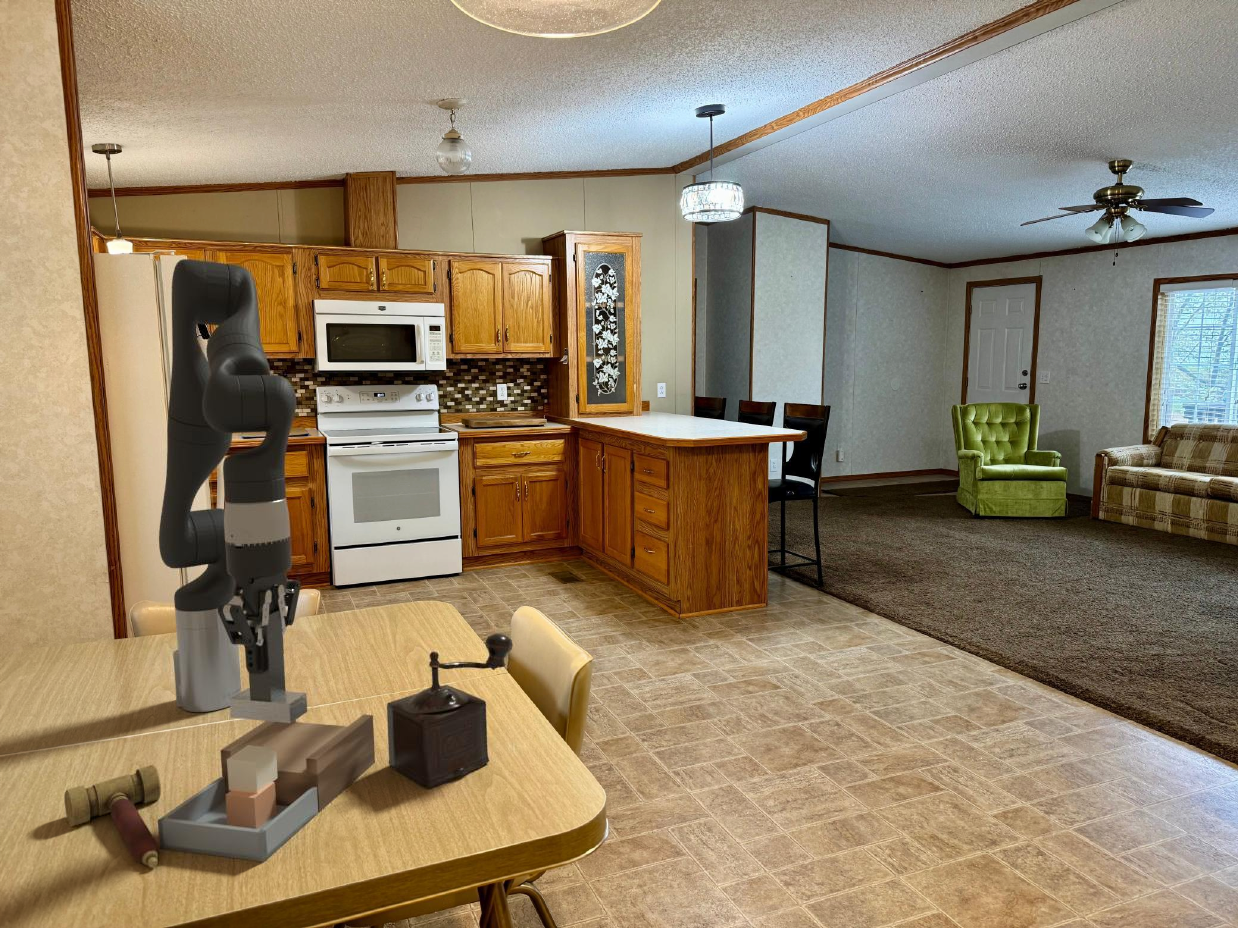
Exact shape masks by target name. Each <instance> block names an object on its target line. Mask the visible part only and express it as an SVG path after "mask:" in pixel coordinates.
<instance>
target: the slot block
mask: <svg viewBox="0 0 1238 928" xmlns="http://www.w3.org/2000/svg"><path fill="white" fill-rule="evenodd" d="M374 730H375V729H374V715H373V714H362V715H360V716H359V717H358V718H357V719H356V720H354V721H353V722H351V723H350V724H349V725H347V726H345V725H336V724H335V725H334V724H325V723H323V724H322V723H313V722H311V723H310V722H300V721H297V719H296V720H294V721H293V722H292V723H283V722H273V721H264V722H262V723H261V724H259V725H257V726H256V727H254V728H253V729H251V730H249V731H248V732H246V733H245V734H243V735H242V736H240V737H238V738H237V739H235V740H234V741H232V742H231V743H229V744H228V745H226V746H224V747H223V748H221V749H220V750H219V751H220V763H221V765H220V766H221V777H225V790H226V794H227V793H229V792H230V791H231V790H229V783H228V769H227V759H228V758H230V757H231V756H233V755H234V754H236V753H237V752H239V751H240V750H242V749H243V748H245V747H246V746H248V745H252V746H262V747H272V748H276V759H277V775H278V778H277V779H276V780H274V781H273V782H275V793H276V805H282V806H290V805H291V804H292V803H293V802H295V801H296V800H297V799H298V798H299V797H301V796H302V795H303V794H304V793H305V792H307V791H308V790H309V789H310V788H311V787H317V800H318V813H320V812H322V810H324V809H325V808H326V807H327V806H328V805H329V804H331V803H332V802H333V801H334V800H335V799H336V798H338V796H340V794H341V793H342V792H344V791H345V790H346V789H347V788H348V787H350V785H351V784H352V783H354V782H355V781H356V780H357V779H358V778H360V776H361V775H362V774H363V773H365V772H366V771H367V770H368V769H369V768H370V767H372V766H373V764H375V763H376V753H375V752H376V751H375V748H376V747H375V732H374Z"/></svg>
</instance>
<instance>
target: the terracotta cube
mask: <svg viewBox="0 0 1238 928" xmlns="http://www.w3.org/2000/svg"><path fill="white" fill-rule="evenodd" d="M226 810H227V824H228V826H236V827H244V828H252V829H257V828H259V827H260V826H261V825H262V824H263V823H265V822H266V821H267V820H268V819H269V818H271V817H272V816H273V815H274V814H275V813H277V810H276V793H275V782H272V783H270V784H269V785H268V786H266V787H265V788H264V789H263V790H261V791H260V792H259V793H249V792H240V791H230V792H229V793H227V794H226Z"/></svg>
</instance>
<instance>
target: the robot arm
mask: <svg viewBox="0 0 1238 928" xmlns="http://www.w3.org/2000/svg"><path fill="white" fill-rule="evenodd" d="M174 266H175V267H174V269H173V273H172V279H171V340H172V341H171V345H172V346H171V347H172V348H171V349H172V350H171V351H172V352H171V353H172V362H171V377H170V387H169V388H170V389H169V401H168V409H167V411H168V412H167V429H166V430H167V431H166V432H167V433H166V436H167V437H166V438H167V439H166V442H167V444H166V446H167V447H166V471H165V473H166V475H165V486H164V494H163V501H162V507H161V513H160V521H159V530H158V531H159V532H158V548H159V554H160V557H161V560H162V562H163V563H164V565H165V566H166V567H169V568H170V569H186V568H194V567H200V566H206V565H207V567H206V569H205V570H204V571H203V572H202V573H201V574H200V575H199V576H198V577H196V578H195V579H193V580H192V581H190V582H187V583H186V584H184V585H182V586H180V587H179V588H178V589H177V590H175V593H174V596H173V597H174V599H173V600H174V601H173V602H174V603H173V604H174V613H175V626H176V628H175V629H176V637H177V638H176V639H177V640H176V641H177V650H175V651H173V653H172V657H173V670H174V673H173V674H174V686H175V697H176V698H175V699H176V707H181V708H182V709H183V710H184V711H186V712H193V713H204V712H205V713H206V712H214V711H218V710H222V709H225V708H228V707H230V698H232V697H233V696H235V695H237V694H239V693H240V692H242V680H241V665H240V664H241V663H240V662H241V661H240V650H239V649H240V647H239V646H240V645H241V646H243V647H244V652H245V653H244V655H245V667H246V671H247V673H248V674H249V673H250V674H262V673H264V672H265V671H266V663H265V646H264V644H263V642H264V627H265V626H266V625H268V620H269V612H272V611H275V610H278V611H279V613H280V619H282V636H283V637H284V635H285V633H286V630H287V627H288V626H290V627H291V626H293V625H294V622H295V617H296V611H297V607H298V601H299V596H300V591H301V588H302V587H301V585H302V583H301V580H297V579H288V577H287V574H286V573H287V572H289V571H290V570H291V569H292V567H293V566H292V565H293V561H292V545H291V544H292V542H291V541H292V540H291V527H290V524H291V523H290V512H289V508H288V502H287V493H286V492H287V491H286V475H285V474H286V473H285V472H286V471H285V470H286V469H285V468H286V467H285V465H286V453H287V447H288V441H289V437H290V433H291V429H292V426H293V422H294V419H295V418H294V417H295V414H296V408H297V395H296V391H295V389H294V387H293V385H292V384H291V382H290V381H289V380H288V379H287V378H286V377H284V376H281V375H277V374H271V369H270V365H269V362H268V358H267V355H266V352H265V350H264V347H263V345H262V339H261V325H260V324H261V323H260V321H261V320H260V312H259V302H258V301H259V300H258V291H257V285H256V282H255V279H254V276H253V274H252V273H251V272H250V270H249V269H247V268H246V267H243V266H241V265H236V264H232V263H224V262H215V261H206V260H198V259H189V258H187V259H186V258H185V259H184V258H183V259H180V260H179V261H177V262H176V264H175V265H174ZM197 325H208V326H209V325H210V326H217V327H216V328H215V329H214V330H213V331H212V332H211V334H210V336H209V338H208V340H207V344H206V356H205V353H204V352H203V349H202V347H201V344H200V343H199V340H198V339H199V338H198V336H197V332H196V331H197V330H196V329H197ZM264 432H265V436H264V439H263V440H262V442H261V443H260V444H259V445H258V446H255V447H253V448H250V449H247V450H243V451H239V452H234V453H231V454H229V455H227V454H228V452H229V449H230V447H231V445H232V441H233V434H239V433H240V434H242V433H243V434H244V433H264ZM226 455H227V456H226ZM223 459H224V461H223V463H222V475H223V477H222V478H223V489H224V491H223V492H224V508H221V507H220V508H209V509H208V508H207V509H200V510H192V507H193V505H194V504H193V503H194V500H195V499H196V495H197V494H198V492H199V490H200V489H201V487H202V486H203V485H204V483H205V482H206V481H207V479H208V478H209V477H210V476H211V474H212V473H213V472H214V471H215V470H216V469H217V467H218V466H219V465H220V463H221V462H222V460H223ZM247 616H248V617H259V619H258V620H253V619H248V618H247ZM251 626H252V627H255V635H253V634H252V631H251ZM284 647H285V646H284V645H283V654H285V651H284Z"/></svg>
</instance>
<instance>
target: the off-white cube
mask: <svg viewBox="0 0 1238 928" xmlns="http://www.w3.org/2000/svg"><path fill="white" fill-rule="evenodd" d="M227 769H228V783H229V790H231V791H240V792H249V793H259V792H260V791H261V790H263V789H264V788H265V787H266V786H268V785H269V784H270V783H272V782H273V781H274V780H276V779H277V778H278V775H277V759H276V748H272V747H262V746H252V745H248V746H246V747H245V748H243V749H242V750H240V751H239V752H237V753H236V754H234V755H233V756H231V757H230V758H228V759H227Z"/></svg>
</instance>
